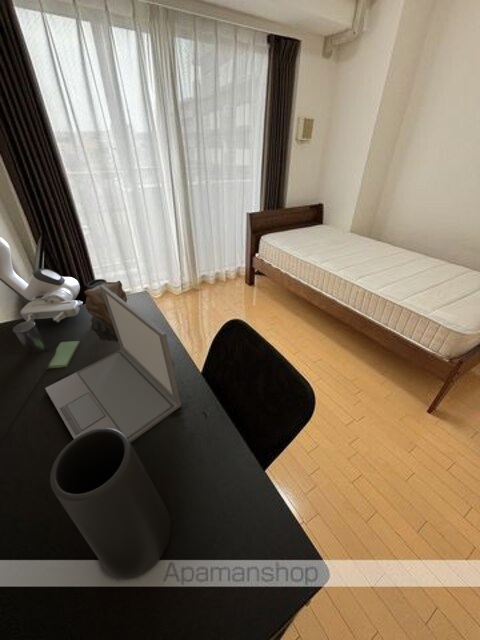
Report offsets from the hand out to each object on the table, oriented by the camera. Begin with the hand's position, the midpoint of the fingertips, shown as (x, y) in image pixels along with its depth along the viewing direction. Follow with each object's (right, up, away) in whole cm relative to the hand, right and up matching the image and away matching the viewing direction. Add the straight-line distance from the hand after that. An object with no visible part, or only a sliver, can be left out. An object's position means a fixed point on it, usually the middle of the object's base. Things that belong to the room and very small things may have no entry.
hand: (42, 321), depth 106 cm
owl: (+26, -5, +5) cm, 27 cm away
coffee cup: (+17, +3, +17) cm, 24 cm away
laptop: (+35, -23, -20) cm, 47 cm away
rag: (+11, -12, -4) cm, 17 cm away
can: (+1, -11, -3) cm, 12 cm away
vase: (+53, -43, -48) cm, 84 cm away
